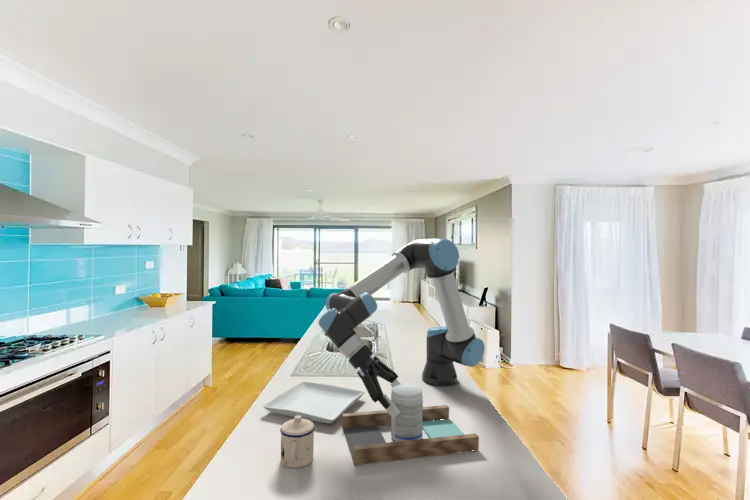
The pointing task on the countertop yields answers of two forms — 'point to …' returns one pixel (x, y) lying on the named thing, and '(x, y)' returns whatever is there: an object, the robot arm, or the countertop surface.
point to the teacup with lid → (297, 442)
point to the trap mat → (363, 436)
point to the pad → (441, 428)
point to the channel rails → (409, 447)
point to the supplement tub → (407, 413)
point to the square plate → (314, 402)
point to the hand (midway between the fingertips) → (402, 406)
